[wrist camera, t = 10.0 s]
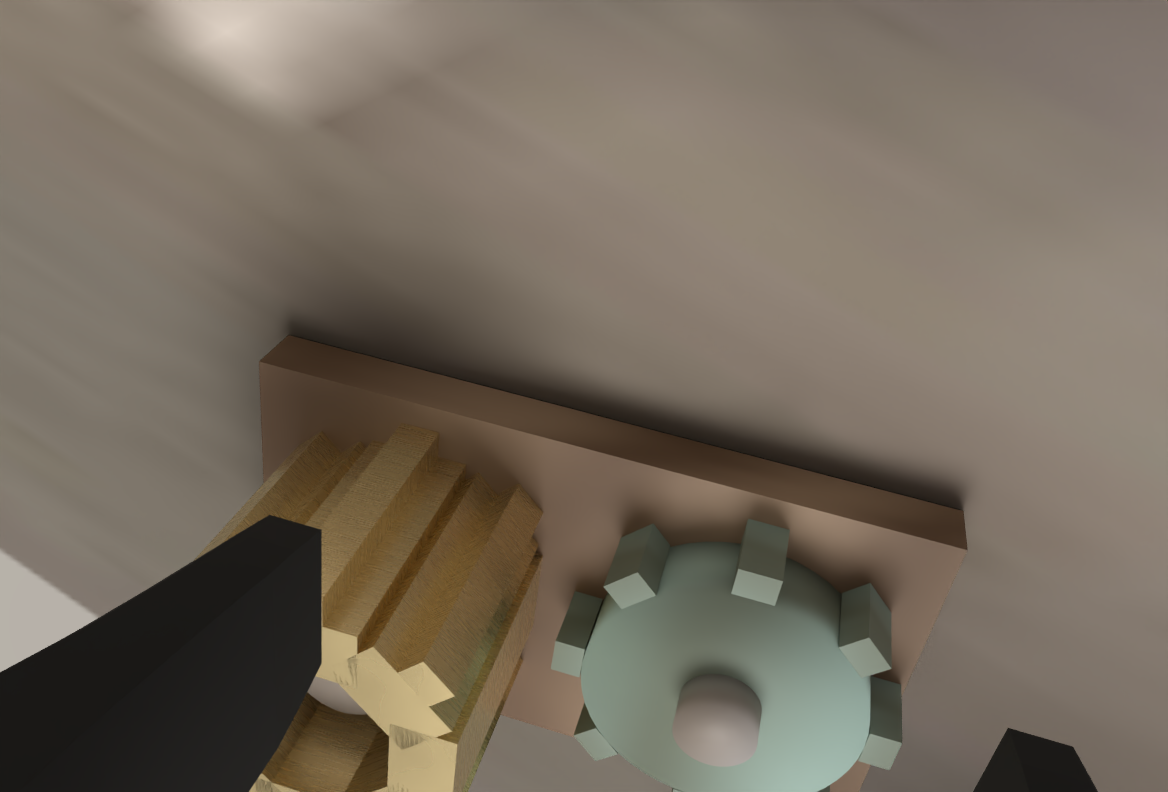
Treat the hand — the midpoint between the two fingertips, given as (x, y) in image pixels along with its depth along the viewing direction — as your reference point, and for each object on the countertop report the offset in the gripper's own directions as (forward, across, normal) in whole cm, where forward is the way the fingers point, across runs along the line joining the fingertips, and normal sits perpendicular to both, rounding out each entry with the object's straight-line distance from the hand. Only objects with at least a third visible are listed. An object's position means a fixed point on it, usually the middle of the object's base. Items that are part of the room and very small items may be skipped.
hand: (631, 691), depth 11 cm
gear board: (+9, +2, +7) cm, 12 cm away
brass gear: (+8, +6, +7) cm, 12 cm away
